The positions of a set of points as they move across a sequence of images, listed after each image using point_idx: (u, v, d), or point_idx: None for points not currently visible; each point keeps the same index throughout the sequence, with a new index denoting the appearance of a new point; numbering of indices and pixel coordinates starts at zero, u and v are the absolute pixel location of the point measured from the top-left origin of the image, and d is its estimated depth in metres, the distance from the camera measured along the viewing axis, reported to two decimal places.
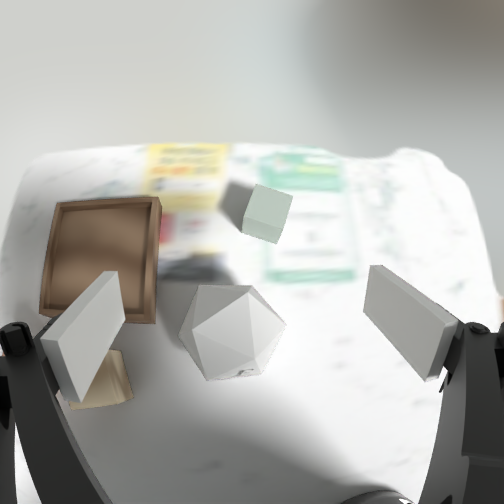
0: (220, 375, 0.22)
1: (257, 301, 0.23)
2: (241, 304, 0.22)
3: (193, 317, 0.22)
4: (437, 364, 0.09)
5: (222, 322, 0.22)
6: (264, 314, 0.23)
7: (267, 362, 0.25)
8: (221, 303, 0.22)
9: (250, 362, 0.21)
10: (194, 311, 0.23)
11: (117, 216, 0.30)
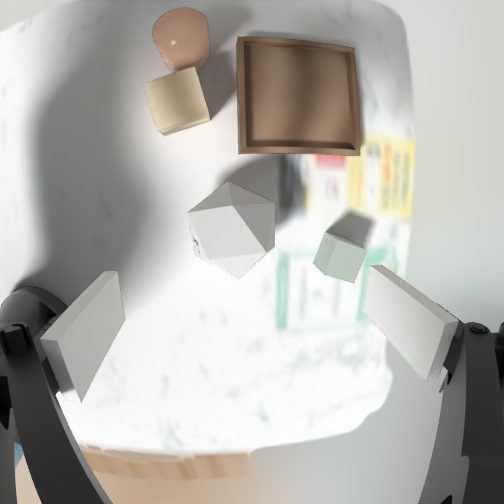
0: (192, 225, 0.27)
1: (258, 259, 0.27)
2: (255, 247, 0.26)
3: (243, 203, 0.26)
4: (437, 364, 0.09)
5: (239, 232, 0.25)
6: (247, 264, 0.27)
7: None
8: (256, 230, 0.26)
9: (205, 254, 0.26)
10: (249, 203, 0.26)
11: (341, 113, 0.29)
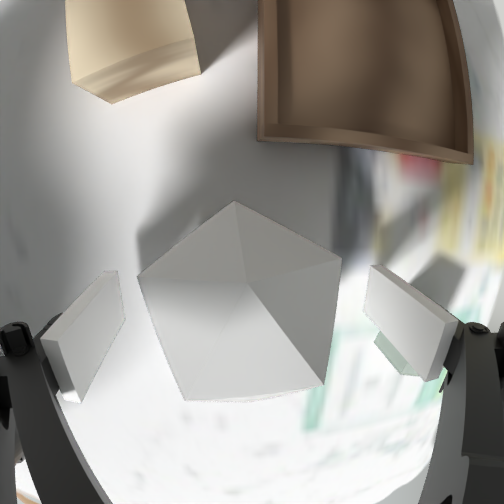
0: (148, 310, 0.11)
1: (301, 390, 0.11)
2: (300, 377, 0.10)
3: (277, 271, 0.09)
4: (437, 364, 0.09)
5: (264, 348, 0.09)
6: (274, 395, 0.11)
7: None
8: (305, 338, 0.10)
9: (177, 384, 0.10)
10: (290, 268, 0.10)
11: (441, 86, 0.13)
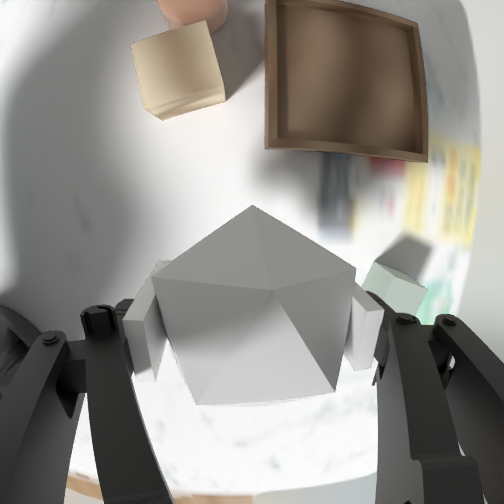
0: (161, 311, 0.11)
1: (310, 396, 0.11)
2: (313, 384, 0.10)
3: (298, 279, 0.09)
4: (366, 353, 0.10)
5: (282, 355, 0.09)
6: (283, 401, 0.11)
7: None
8: (321, 346, 0.10)
9: (188, 388, 0.10)
10: (310, 277, 0.10)
11: (403, 103, 0.20)
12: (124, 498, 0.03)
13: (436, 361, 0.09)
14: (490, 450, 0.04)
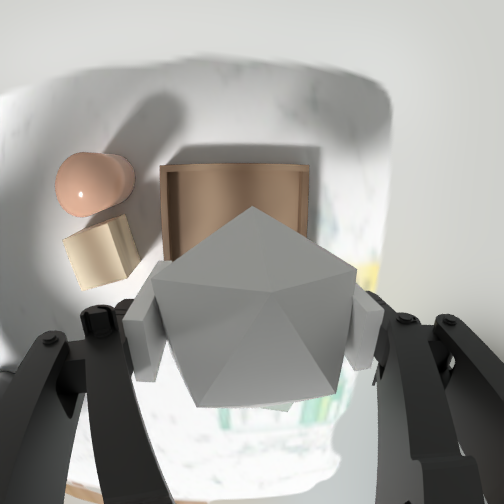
0: (161, 314, 0.11)
1: (311, 398, 0.11)
2: (314, 386, 0.10)
3: (298, 281, 0.09)
4: (366, 353, 0.10)
5: (282, 357, 0.09)
6: (284, 403, 0.11)
7: None
8: (321, 347, 0.10)
9: (189, 390, 0.10)
10: (311, 278, 0.10)
11: None
12: (124, 498, 0.03)
13: (436, 361, 0.09)
14: (490, 450, 0.04)
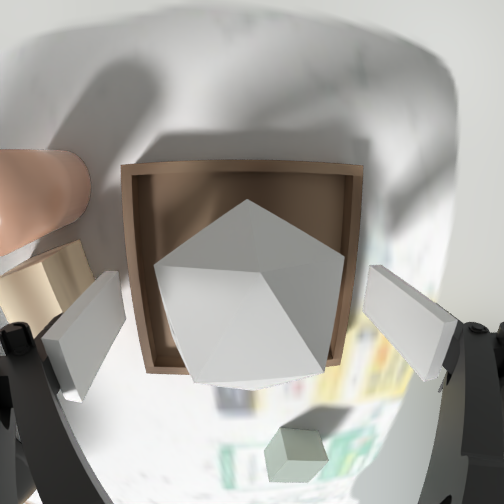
0: (163, 297, 0.12)
1: (302, 378, 0.12)
2: (303, 364, 0.11)
3: (286, 264, 0.10)
4: (436, 364, 0.09)
5: (271, 334, 0.10)
6: (276, 382, 0.12)
7: None
8: (309, 327, 0.11)
9: (187, 367, 0.11)
10: (298, 262, 0.11)
11: None
12: None
13: (499, 367, 0.08)
14: None
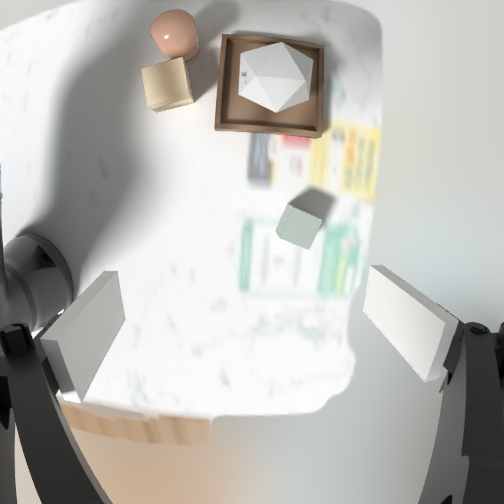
0: (244, 59, 0.27)
1: (297, 87, 0.27)
2: (297, 74, 0.26)
3: None
4: (437, 364, 0.09)
5: (285, 60, 0.26)
6: (287, 92, 0.27)
7: (247, 97, 0.30)
8: (298, 64, 0.26)
9: (253, 75, 0.26)
10: (294, 49, 0.26)
11: (307, 100, 0.34)
12: None
13: (500, 367, 0.08)
14: None
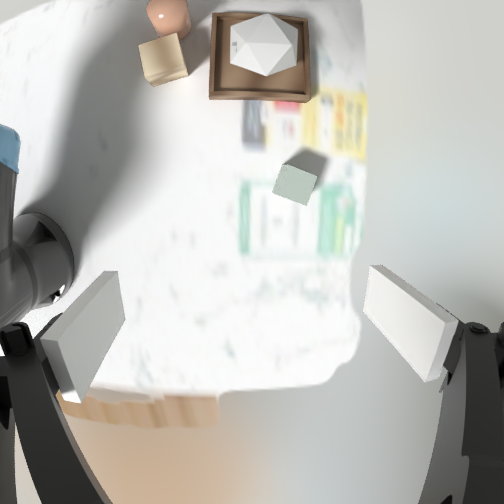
0: (234, 31, 0.27)
1: (285, 52, 0.27)
2: (283, 40, 0.26)
3: (275, 17, 0.26)
4: (437, 364, 0.09)
5: (272, 28, 0.26)
6: (275, 56, 0.28)
7: (239, 65, 0.30)
8: (284, 31, 0.26)
9: (243, 42, 0.27)
10: (279, 19, 0.27)
11: (295, 68, 0.34)
12: None
13: (500, 367, 0.08)
14: None
